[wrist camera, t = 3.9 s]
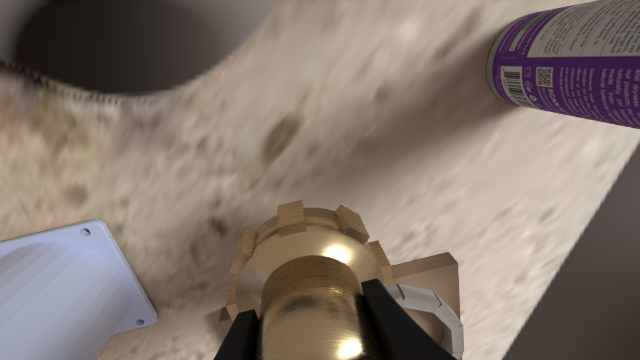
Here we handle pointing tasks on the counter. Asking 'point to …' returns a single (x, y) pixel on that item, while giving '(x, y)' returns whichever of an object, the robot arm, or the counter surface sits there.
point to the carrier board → (422, 299)
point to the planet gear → (309, 284)
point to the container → (572, 62)
